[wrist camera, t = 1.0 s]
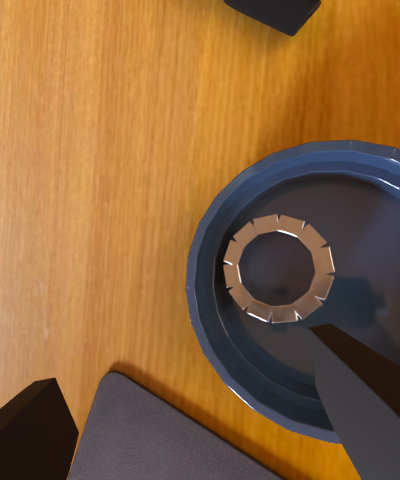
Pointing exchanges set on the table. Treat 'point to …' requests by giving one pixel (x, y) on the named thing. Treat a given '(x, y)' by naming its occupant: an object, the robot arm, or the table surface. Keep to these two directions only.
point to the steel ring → (249, 293)
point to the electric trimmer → (278, 12)
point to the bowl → (301, 272)
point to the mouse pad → (153, 441)
